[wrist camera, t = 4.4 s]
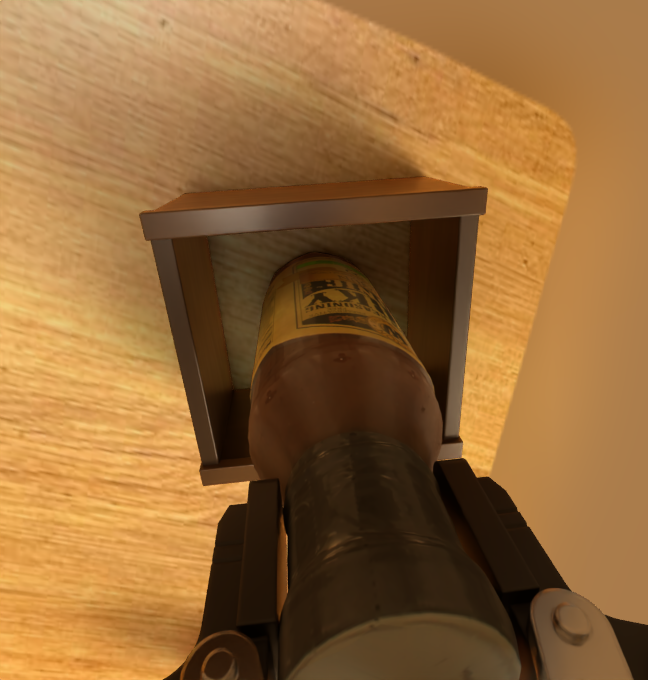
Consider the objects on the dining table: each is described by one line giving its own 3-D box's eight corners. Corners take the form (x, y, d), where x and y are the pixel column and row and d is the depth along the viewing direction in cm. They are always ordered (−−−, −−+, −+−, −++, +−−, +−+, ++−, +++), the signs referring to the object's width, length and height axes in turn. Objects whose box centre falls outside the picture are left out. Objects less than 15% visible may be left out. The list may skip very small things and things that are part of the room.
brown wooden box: (428, 173, 23) (488, 187, 16) (419, 383, 28) (461, 458, 21) (181, 191, 22) (138, 213, 15) (221, 402, 27) (202, 486, 21)
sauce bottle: (390, 287, 25) (689, 657, 7) (326, 366, 27) (436, 825, 9) (301, 221, 23) (402, 512, 5) (238, 312, 25) (143, 769, 7)
